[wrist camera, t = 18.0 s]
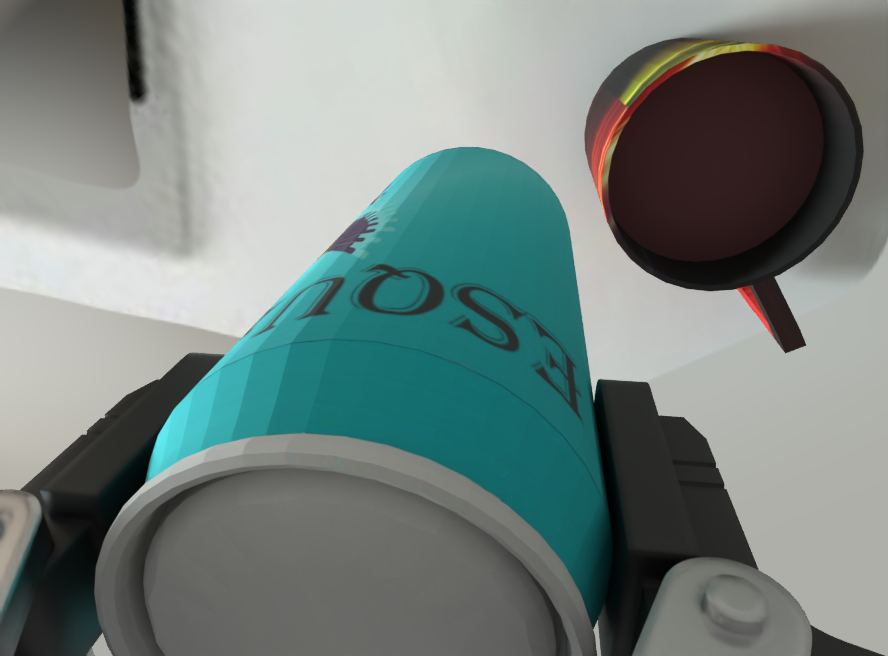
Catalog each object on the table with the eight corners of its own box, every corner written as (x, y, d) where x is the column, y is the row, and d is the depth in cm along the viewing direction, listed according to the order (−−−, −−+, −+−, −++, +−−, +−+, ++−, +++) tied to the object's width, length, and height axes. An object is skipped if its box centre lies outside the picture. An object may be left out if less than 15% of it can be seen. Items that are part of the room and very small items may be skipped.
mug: (736, 283, 39) (810, 381, 28) (550, 158, 37) (553, 211, 26) (863, 148, 34) (1007, 202, 24) (660, -1, 33) (716, -15, 22)
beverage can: (422, 104, 18) (96, 315, 5) (602, 183, 19) (760, 588, 5) (361, 274, 21) (39, 716, 7) (520, 341, 21) (484, 886, 8)
